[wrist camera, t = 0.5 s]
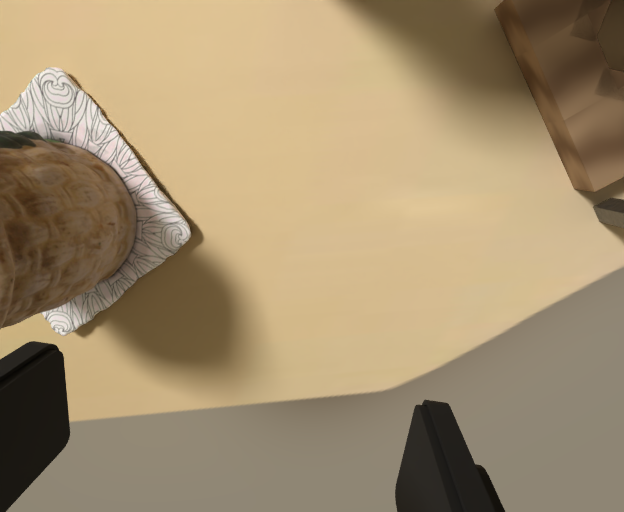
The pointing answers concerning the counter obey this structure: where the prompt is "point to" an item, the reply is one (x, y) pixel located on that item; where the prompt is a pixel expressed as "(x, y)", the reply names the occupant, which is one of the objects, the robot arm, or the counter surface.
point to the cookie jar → (74, 209)
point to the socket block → (571, 83)
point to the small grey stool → (611, 212)
